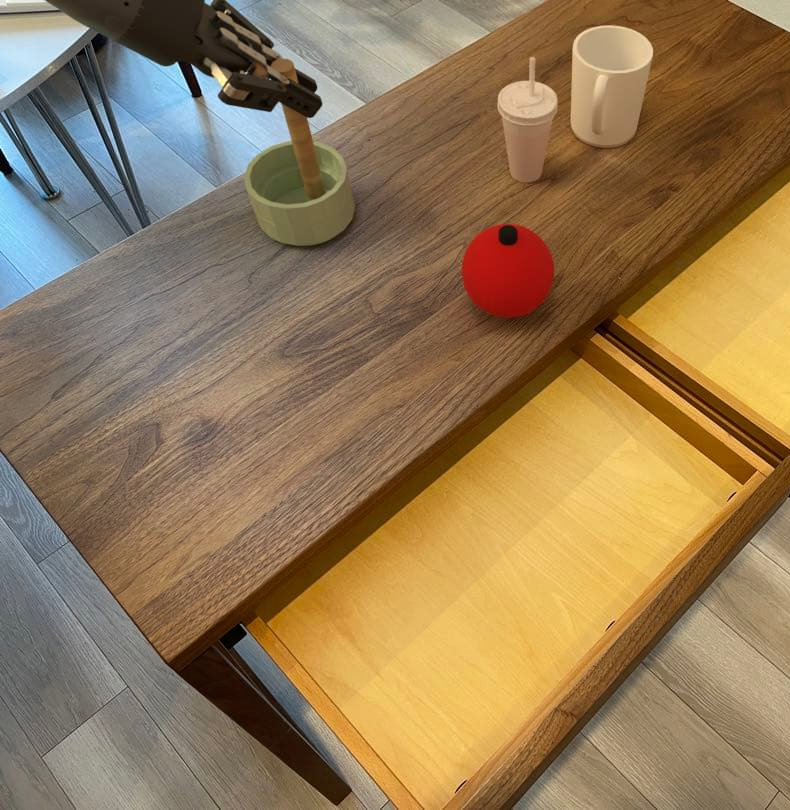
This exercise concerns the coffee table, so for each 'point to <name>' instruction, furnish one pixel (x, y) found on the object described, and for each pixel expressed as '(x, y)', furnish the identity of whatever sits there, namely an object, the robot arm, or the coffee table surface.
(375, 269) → the coffee table surface
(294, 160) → the bowl
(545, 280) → the ornament
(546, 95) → the smoothie
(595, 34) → the mug
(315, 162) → the stick
